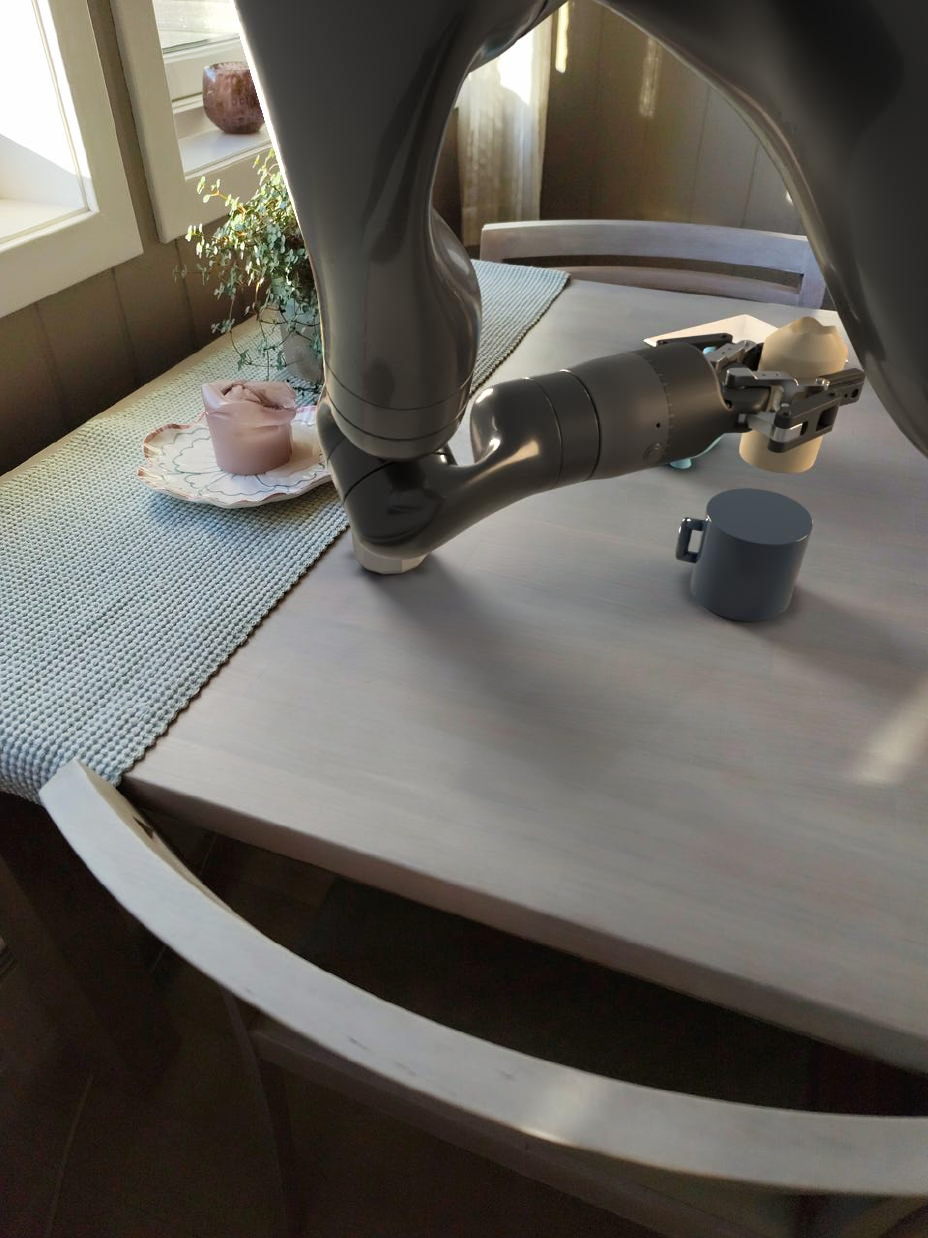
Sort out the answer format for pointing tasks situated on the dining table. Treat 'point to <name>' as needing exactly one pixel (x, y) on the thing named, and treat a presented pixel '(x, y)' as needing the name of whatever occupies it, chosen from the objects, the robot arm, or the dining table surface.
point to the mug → (746, 553)
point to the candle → (804, 356)
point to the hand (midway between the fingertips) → (825, 367)
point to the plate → (725, 330)
